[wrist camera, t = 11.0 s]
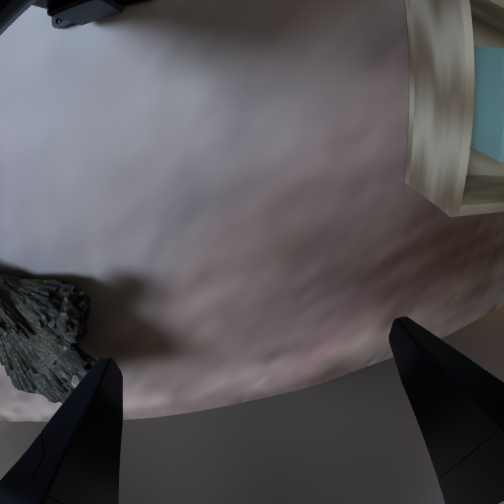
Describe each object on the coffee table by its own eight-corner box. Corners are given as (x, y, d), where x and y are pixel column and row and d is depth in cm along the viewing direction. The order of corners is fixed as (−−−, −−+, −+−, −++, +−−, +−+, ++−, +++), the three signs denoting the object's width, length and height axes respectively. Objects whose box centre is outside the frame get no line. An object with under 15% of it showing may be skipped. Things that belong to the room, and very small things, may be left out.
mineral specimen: (56, 253, 14) (15, 435, 10) (159, 319, 25) (137, 432, 21) (-38, 242, 18) (-68, 352, 13) (48, 296, 29) (28, 381, 25)
